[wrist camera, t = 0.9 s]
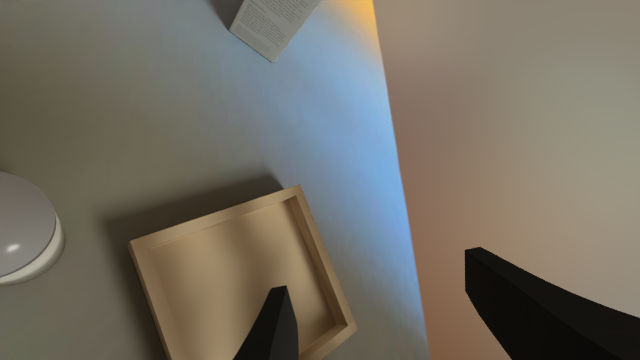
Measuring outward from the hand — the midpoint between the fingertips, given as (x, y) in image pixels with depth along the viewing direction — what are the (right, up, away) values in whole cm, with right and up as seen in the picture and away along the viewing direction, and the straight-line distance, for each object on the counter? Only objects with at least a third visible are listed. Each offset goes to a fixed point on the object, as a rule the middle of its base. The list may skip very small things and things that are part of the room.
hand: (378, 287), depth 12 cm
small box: (-9, +21, +22) cm, 32 cm away
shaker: (-20, 0, +6) cm, 21 cm away
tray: (-8, -5, +13) cm, 16 cm away
